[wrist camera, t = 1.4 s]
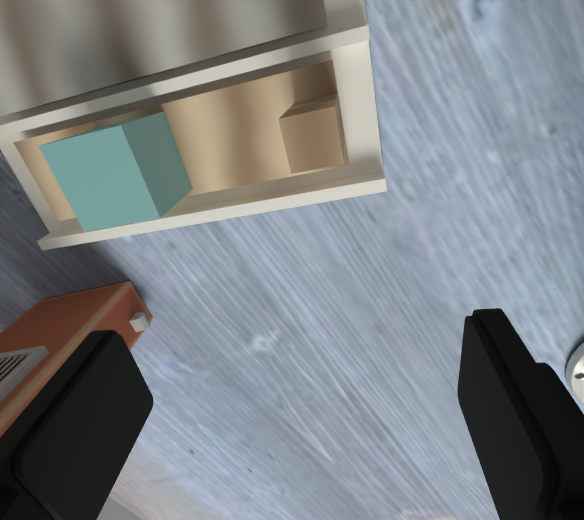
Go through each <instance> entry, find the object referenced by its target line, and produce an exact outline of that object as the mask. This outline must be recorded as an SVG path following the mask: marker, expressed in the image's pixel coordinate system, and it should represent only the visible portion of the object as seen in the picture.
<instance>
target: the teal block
mask: <svg viewBox="0 0 584 520" xmlns="http://www.w3.org/2000/svg"><path fill="white" fill-rule="evenodd" d="M38 147H39V149H40V151H41V153H42V154H43V156H44V158H45V160H46V162H47V164H48V165H49V167H50V169H51V171H52V173H53V175H54V177H55V178H56V180H57V182H58V184H59V186H60V188H61V189H62V191H63V193H64V195H65V197H66V199H67V201H68V202H69V204H70V206H71V208H72V210H73V212H74V214H75V215H76V217H77V219H78V221H79V223H80V225H81V226H82V228H83V230H84V232H87V231H92V230H98V229H104V228H109V227H115V226H120V225H126V224H131V223H137V222H142V221H148V220H153V219H159V218H161V217H162V216H163V215H165V214H166V213H167V212H168V211H169V210H170V209H171V208H172V207H174V206H175V205H176V204H177V203H178V202H179V201H180V200H181V199H182V198H184V197H185V196H186V195H187V194H188V193H189V192H190V191H191V190H193V188H192V185H191V182H190V180H189V177H188V174H187V172H186V169H185V166H184V163H183V161H182V158H181V155H180V152H179V150H178V147H177V144H176V142H175V139H174V136H173V133H172V131H171V128H170V125H169V122H168V120H167V117H166V114H165V112H160V113H156V114H152V115H148V116H144V117H140V118H136V119H132V120H128V121H124V122H120V123H116V124H112V125H108V126H104V127H100V128H96V129H93V130H90V131H86V132H83V133H80V134H76V135H73V136H70V137H66V138H63V139H60V140H56V141H53V142H50V143H46V144H43V145H40V146H38Z"/></svg>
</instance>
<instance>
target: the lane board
mask: <svg viewBox="0 0 584 520" xmlns="http://www.w3.org/2000/svg"><path fill="white" fill-rule="evenodd" d="M324 4H325V11H326V17H327V24H328V26H327V27H323V28H320V29H316V30H313V31H309V32H305V33H302V34H298V35H295V36H291V37H287V38H284V39H280V40H277V41H273V42H270V43H266V44H262V45H259V46H255V47H252V48H248V49H244V50H241V51H237V52H234V53H230V54H227V55H223V56H219V57H216V58H212V59H209V60H205V61H202V62H198V63H194V64H191V65H187V66H184V67H180V68H176V69H173V70H169V71H166V72H162V73H159V74H155V75H151V76H148V77H144V78H141V79H137V80H133V81H130V82H126V83H123V84H119V85H116V86H112V87H108V88H105V89H101V90H98V91H94V92H91V93H87V94H83V95H80V96H76V97H73V98H69V99H65V100H62V101H58V102H55V103H51V104H48V105H44V106H40V107H37V108H33V109H30V110H26V111H22V112H19V113H15V114H10V115H5V116H0V150H1V151H2V153H3V155H4V156H5V158H6V160H7V161H8V163H9V165H10V166H11V168H12V170H13V172H14V173H15V175H16V177H17V178H18V180H19V182H20V183H21V185H22V187H23V188H24V190H25V192H26V194H27V195H28V197H29V199H30V200H31V202H32V204H33V205H34V207H35V209H36V211H37V212H38V214H39V216H40V217H41V219H42V221H43V222H44V224H45V226H46V227H47V229H48V231H49V234H48V235H46V236H44V237H43V238H41V239H39V240H38V241H36V242H37V243H38V245H39V246H40V248H41V250H42V251H43V250H49V249H54V248H60V247H66V246H72V245H78V244H83V243H89V242H95V241H101V240H107V239H112V238H118V237H124V236H130V235H136V234H141V233H147V232H153V231H159V230H165V229H170V228H176V227H182V226H188V225H194V224H199V223H205V222H211V221H217V220H223V219H228V218H234V217H240V216H246V215H252V214H257V213H263V212H269V211H275V210H281V209H286V208H292V207H298V206H304V205H310V204H315V203H321V202H327V201H333V200H339V199H344V198H350V197H356V196H362V195H368V194H373V193H379V192H385V191H387V189H386V180H385V176H384V173H383V165H382V156H381V147H380V139H379V130H378V121H377V112H376V103H375V94H374V85H373V76H372V67H371V58H370V49H369V41H368V40H370V35H369V26H368V25H367V23H366V14H365V5H364V0H324ZM330 60H333V63H334V69H335V76H336V82H337V88H338V95H339V101H340V108H341V114H342V121H343V127H344V134H345V140H346V147H347V153H348V160H349V166H344V167H338V168H333V169H328V170H323V171H318V172H312V173H307V174H302V175H297V176H292V177H286V178H281V179H276V180H271V181H266V182H260V183H255V184H250V185H245V186H239V187H234V188H229V189H224V190H219V191H213V192H208V193H203V194H198V195H193V196H187V197H184V198H182V199H181V200H180V201H179V202H178V203H177V204H176V205H175V206H174V207H172V208H171V209H170V210H169V211H168V212H167V213H166V214H165V215H163V216H162V217H161V218H159V219H153V220H148V221H142V222H137V223H131V224H126V225H120V226H115V227H109V228H104V229H98V230H92V231H87V232H84V230H83V228H82V226H81V225H80V223H79V221H78V219H77V218H73V219H67V220H62V221H58V220H57V218H56V217H55V215H54V213H53V211H52V210H51V208H50V206H49V204H48V203H47V201H46V199H45V197H44V195H43V194H42V192H41V190H40V188H39V187H38V185H37V183H36V181H35V180H34V178H33V176H32V174H31V173H30V171H29V169H28V167H27V166H26V164H25V162H24V160H23V159H22V157H21V155H20V153H19V152H18V150H17V148H16V146H15V145H14V143H13V142H17V141H20V140H24V139H28V138H32V137H36V136H39V135H43V134H47V133H51V132H55V131H59V130H63V129H67V128H70V127H74V126H78V125H82V124H86V123H90V122H94V121H98V120H101V119H105V118H109V117H113V116H117V115H121V114H125V113H129V112H132V111H136V110H140V109H144V108H148V107H152V106H156V105H160V104H164V103H167V102H171V101H175V100H179V99H183V98H187V97H191V96H195V95H198V94H202V93H206V92H210V91H214V90H218V89H222V88H226V87H229V86H233V85H237V84H241V83H245V82H249V81H253V80H257V79H260V78H264V77H268V76H272V75H276V74H280V73H284V72H288V71H291V70H295V69H299V68H303V67H307V66H311V65H315V64H319V63H322V62H326V61H330Z"/></svg>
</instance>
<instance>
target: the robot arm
mask: <svg viewBox="0 0 584 520" xmlns="http://www.w3.org/2000/svg"><path fill="white" fill-rule="evenodd" d="M566 381H567V383H568V386H569V388H570V389H571V391H572V392H573V394H574V395H575V397H576V398H577V399H578V400H579V401H580V402H581V403H583V404H584V342H583V343H582V344H581V345H580V346H579V347H578V348H577V350H576V351H575V352H574V353H573V354H572V356H571V358H570V360H569V362H568V364H567V369H566ZM458 399H459V404H460V407H461V410H462V413H463V415H464V418H465V421H466V424H467V427H468V430H469V433H470V435H471V438H472V441H473V444H474V447H475V450H476V453H477V456H478V458H479V461H480V464H481V467H482V470H483V473H484V476H485V478H486V481H487V484H488V487H489V490H490V493H491V496H492V499H493V501H494V504H495V507H496V510H497V513H498V516H499V519H500V520H584V414H583V413H582V411H581V410H580V408H579V407H578V405H577V404H576V402H575V401H574V399H573V398H572V396H571V395H570V393H569V392H568V390H567V389H566V387H565V386H564V384H563V383H562V381H561V380H560V379H559V377H558V376H557V374H556V373H555V371H554V370H553V369H552V368H551V366H549V365H548V364H546V363H536V362H535V361H534V359H533V357H532V356H531V354H530V353H529V351H528V349H527V348H526V346H525V345H524V343H523V342H522V340H521V338H520V337H519V335H518V334H517V332H516V331H515V329H514V327H513V326H512V324H511V323H510V321H509V320H508V318H507V316H506V315H505V313H504V312H503V311H502V309H500V308H496V309H478V310H474V312H473V315H472V316H466V318H465V324H464V333H463V343H462V352H461V362H460V371H459V381H458ZM152 407H153V396H152V394H151V392H150V390H149V388H148V386H147V384H146V382H145V380H144V378H143V376H142V374H141V372H140V370H139V368H138V366H137V364H136V362H135V360H134V358H133V356H132V354H131V352H130V350H129V348H128V346H127V344H126V342H125V340H124V338H123V337H122V336H121V335H120V334H118V333H117V332H116V331H115V330H94V331H92V332H90V333H89V334H88V335H87V336H86V338H85V339H84V340H83V341H82V342H81V343H80V345H79V346H78V347H77V348H76V349H75V350H74V352H73V353H72V354H71V355H70V356H69V357H68V359H67V360H66V361H65V362H64V363H63V365H62V366H61V367H60V368H59V369H58V370H57V372H56V373H55V374H54V375H53V376H52V377H51V379H50V380H49V381H48V382H47V383H46V384H45V386H44V387H43V388H42V389H41V390H40V392H39V393H38V394H37V395H36V396H35V397H34V399H33V400H32V401H31V402H30V403H29V404H28V406H27V407H26V408H25V409H24V410H23V411H22V413H21V414H20V415H19V416H18V417H17V419H16V420H15V421H14V422H13V423H12V424H11V426H10V427H9V428H8V429H7V430H6V431H5V433H4V434H3V435H2V436H1V437H0V520H96V519H97V517H98V515H99V513H100V511H101V509H102V507H103V505H104V503H105V501H106V499H107V497H108V495H109V493H110V491H111V489H112V488H113V486H114V484H115V482H116V480H117V478H118V476H119V474H120V472H121V470H122V468H123V466H124V464H125V462H126V460H127V458H128V456H129V454H130V452H131V450H132V448H133V446H134V444H135V442H136V440H137V438H138V436H139V434H140V432H141V430H142V428H143V426H144V424H145V422H146V420H147V418H148V416H149V414H150V412H151V410H152Z"/></svg>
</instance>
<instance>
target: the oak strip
mask: <svg viewBox="0 0 584 520" xmlns="http://www.w3.org/2000/svg"><path fill="white" fill-rule="evenodd" d="M160 112H165V114H166V117H167V120H168V122H169V125H170V128H171V131H172V133H173V136H174V139H175V142H176V144H177V147H178V150H179V152H180V155H181V158H182V161H183V163H184V166H185V169H186V172H187V174H188V177H189V180H190V182H191V185H192V188H193V190H191V191H190V192H189V193H188V194H187V195H186V196H185V197H187V196H193V195H198V194H203V193H208V192H213V191H219V190H224V189H229V188H234V187H239V186H245V185H250V184H255V183H260V182H266V181H271V180H276V179H281V178H286V177H292V176H297V175H302V174H307V173H312V172H318V171H323V170H328V169H333V168H338V167H344V166H349V160H348V153H347V147H346V140H345V134H344V127H343V121H342V114H341V108H340V101H339V95H338V88H337V82H336V76H335V69H334V63H333V60H330V61H326V62H322V63H319V64H315V65H311V66H307V67H303V68H299V69H295V70H291V71H288V72H284V73H280V74H276V75H272V76H268V77H264V78H260V79H257V80H253V81H249V82H245V83H241V84H237V85H233V86H229V87H226V88H222V89H218V90H214V91H210V92H206V93H202V94H198V95H195V96H191V97H187V98H183V99H179V100H175V101H171V102H167V103H164V104H160V105H156V106H152V107H148V108H144V109H140V110H136V111H132V112H129V113H125V114H121V115H117V116H113V117H109V118H105V119H101V120H98V121H94V122H90V123H86V124H82V125H78V126H74V127H70V128H67V129H63V130H59V131H55V132H51V133H47V134H43V135H39V136H36V137H32V138H28V139H24V140H20V141H17V142H13V143H14V145H15V146H16V148H17V150H18V152H19V153H20V155H21V157H22V159H23V160H24V162H25V164H26V166H27V167H28V169H29V171H30V173H31V174H32V176H33V178H34V180H35V181H36V183H37V185H38V187H39V188H40V190H41V192H42V194H43V195H44V197H45V199H46V201H47V203H48V204H49V206H50V208H51V210H52V211H53V213H54V215H55V217H56V218H57V220H58V221H62V220H67V219H73V218H77V217H76V215H75V214H74V212H73V210H72V208H71V206H70V204H69V202H68V201H67V199H66V197H65V195H64V193H63V191H62V189H61V188H60V186H59V184H58V182H57V180H56V178H55V177H54V175H53V173H52V171H51V169H50V167H49V165H48V164H47V162H46V160H45V158H44V156H43V154H42V153H41V151H40V149H39V147H38V146H40V145H43V144H46V143H50V142H53V141H56V140H60V139H63V138H66V137H70V136H73V135H76V134H80V133H83V132H86V131H90V130H93V129H96V128H100V127H104V126H108V125H112V124H116V123H120V122H124V121H128V120H132V119H136V118H140V117H144V116H148V115H152V114H156V113H160Z"/></svg>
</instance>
